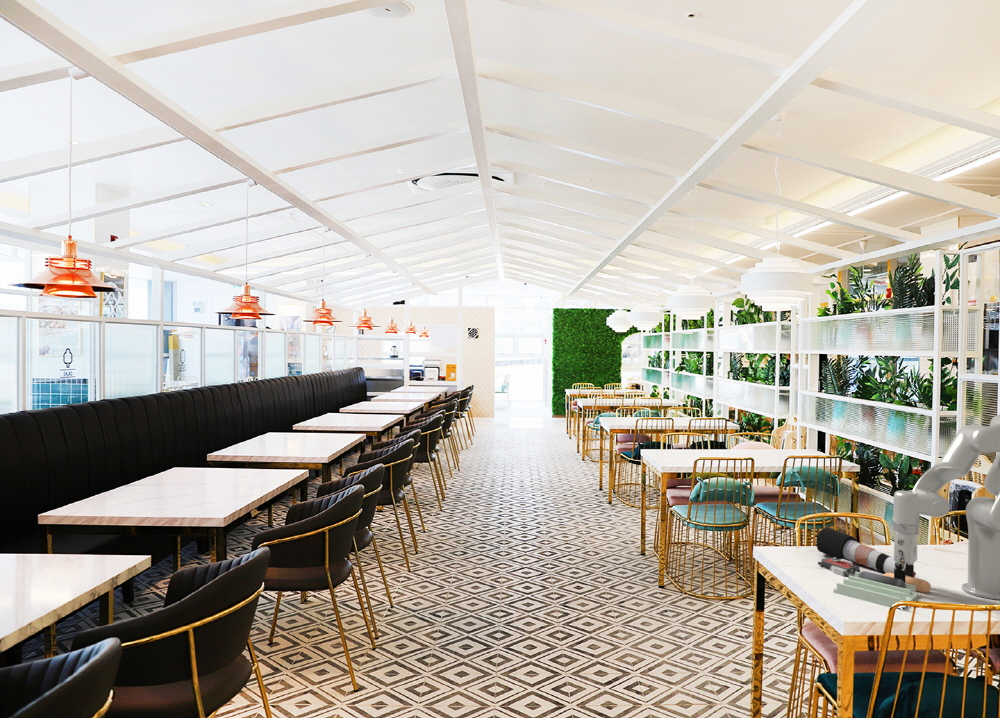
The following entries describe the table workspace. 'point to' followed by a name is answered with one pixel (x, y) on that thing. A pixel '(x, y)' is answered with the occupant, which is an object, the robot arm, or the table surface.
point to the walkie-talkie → (839, 566)
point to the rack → (875, 591)
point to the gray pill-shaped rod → (882, 579)
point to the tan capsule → (915, 583)
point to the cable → (853, 550)
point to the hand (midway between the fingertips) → (903, 578)
